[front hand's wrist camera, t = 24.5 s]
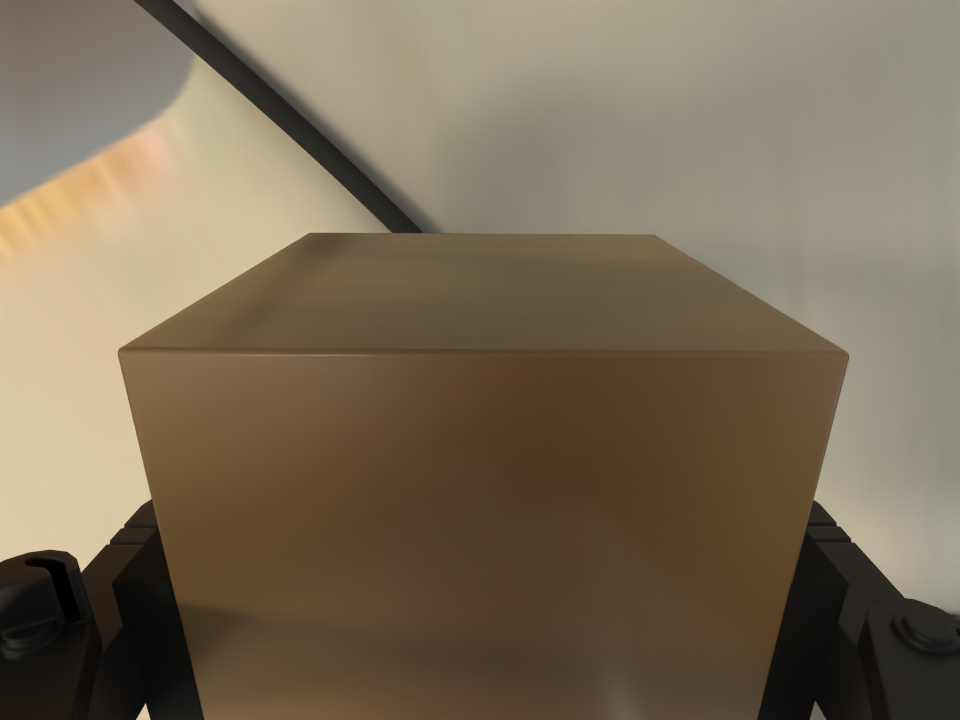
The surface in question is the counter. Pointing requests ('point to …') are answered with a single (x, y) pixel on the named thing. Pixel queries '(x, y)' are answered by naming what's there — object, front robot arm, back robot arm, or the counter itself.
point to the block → (481, 479)
